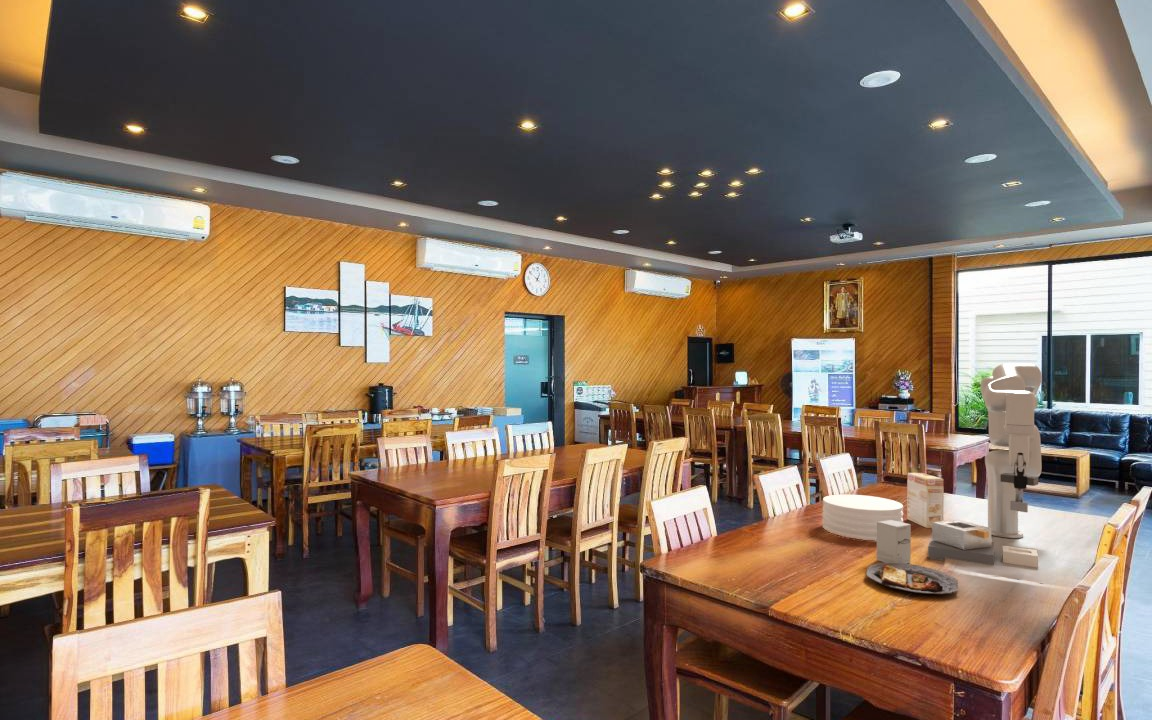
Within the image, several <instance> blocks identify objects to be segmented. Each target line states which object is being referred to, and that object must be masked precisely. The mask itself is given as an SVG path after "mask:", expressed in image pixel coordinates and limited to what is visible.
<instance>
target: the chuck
mask: <svg viewBox="0 0 1152 720" xmlns="http://www.w3.org/2000/svg"><path fill="white" fill-rule="evenodd" d="M931 537H932V540H934V541H937V542H941V543H944V544H947V545H950V546H954V547H957V548H960V549H963V550H966V549H975V548H983V547H991V542H992V535H991V528H989V527H988V526H984V525H980V524H976V523H973V522H968V521H965V520H962V519H951V520H943V521H940V522H932V528H931Z"/></svg>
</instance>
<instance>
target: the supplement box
mask: <svg viewBox="0 0 1152 720" xmlns="http://www.w3.org/2000/svg"><path fill="white" fill-rule="evenodd" d="M911 528H912V527H911V524H910V523H906V522H904V521H903V522H898V521H894V520H887V521H881V522H877V541H876V560H877V562H878V561H879V562H880V563H904V564H911V552H912V551H911V549H912V548H911V547H912V545H911V544H912V543H911V542H912V541H911V540H912V539H911V536H912V535H911V532H912V529H911Z"/></svg>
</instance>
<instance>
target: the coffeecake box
mask: <svg viewBox="0 0 1152 720" xmlns="http://www.w3.org/2000/svg"><path fill="white" fill-rule="evenodd" d="M906 476H907V477H906V478H907V479H906V482H907V485H906V487H907V488H906V489H907V490H906V494H907V499H906V500H907V501H906V508H907V510H906V514H907V516H906V518H907V520H909V521H911V522H913V523H915V524H917V525H919V526H921V527H924V528H926V529H932V522H940V521H944V507H945V506H944V491H945V490H944V486H945V485H944V483H945V482H944V480H945V479H944V478H941V477H938V476H935V475H930V474H927V473H925V472H907V475H906Z"/></svg>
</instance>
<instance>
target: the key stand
mask: <svg viewBox="0 0 1152 720" xmlns="http://www.w3.org/2000/svg"><path fill="white" fill-rule="evenodd" d="M1002 563H1003V564H1004V563H1005V564H1012V565H1017V566H1024V567H1030V568H1039V555H1038V550H1037V549H1032V548H1026V547H1025V548H1024V547H1017V546H1008V545H1002Z"/></svg>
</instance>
